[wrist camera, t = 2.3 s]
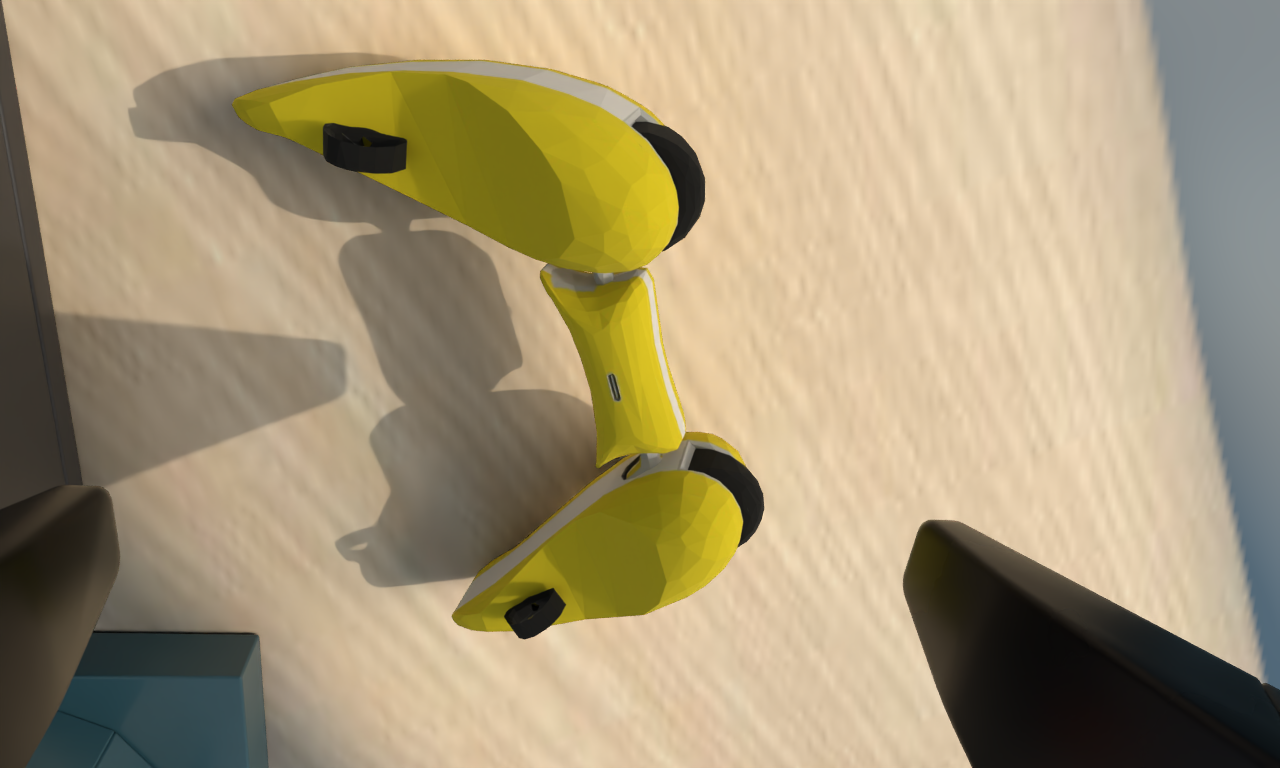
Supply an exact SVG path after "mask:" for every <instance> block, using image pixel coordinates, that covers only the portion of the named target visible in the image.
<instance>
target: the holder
mask: <svg viewBox="0 0 1280 768" xmlns="http://www.w3.org/2000/svg"><path fill="white" fill-rule="evenodd" d="M59 485H83V484H82V478H81V472H80V466H79V460H78V454H77V448H76V442H75V436H74V430H73V424H72V418H71V412H70V406H69V400H68V394H67V388H66V382H65V376H64V370H63V364H62V358H61V352H60V346H59V341H58V335H57V329H56V323H55V317H54V311H53V305H52V299H51V293H50V287H49V281H48V275H47V269H46V263H45V257H44V251H43V245H42V239H41V233H40V227H39V221H38V215H37V209H36V203H35V197H34V191H33V185H32V180H31V174H30V168H29V162H28V156H27V150H26V144H25V138H24V132H23V126H22V120H21V114H20V108H19V102H18V96H17V90H16V84H15V78H14V72H13V66H12V60H11V54H10V48H9V42H8V36H7V30H6V24H5V19H4V13H3V7H2V1H1V0H0V509H2V508H5V507H7V506H10V505H12V504H15V503H17V502H19V501H22V500H24V499H27V498H29V497H32V496H34V495H36V494H39V493H41V492H44V491H46V490H48V489H51V488H53V487H56V486H59Z"/></svg>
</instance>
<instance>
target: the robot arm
mask: <svg viewBox="0 0 1280 768" xmlns="http://www.w3.org/2000/svg"><path fill="white" fill-rule="evenodd" d="M119 565H120V549H119V542H118V536H117V529H116V522H115V516H114V509H113V503H112V499H111V496H110V494H109V492H108V491H107V490H106V489H104V488H103V487H100V486H84V485H59V486H56V487H53V488H51V489H48V490H46V491H44V492H41V493H39V494H36V495H34V496H32V497H29V498H27V499H24V500H22V501H19V502H17V503H15V504H12V505H10V506H7V507H5V508H2V509H0V768H25V767H26V766H27V764H28V762H29V761H30V759H31V757H32V755H33V754H34V752H35V750H36V748H37V747H38V745H39V743H40V742H41V740H42V738H43V736H44V735H45V733H46V731H47V729H48V727H49V726H50V724H51V722H52V720H53V718H54V716H55V715H56V713H57V711H58V709H59V707H60V705H61V703H62V701H63V698H64V696H65V694H66V692H67V690H68V688H69V686H70V683H71V681H72V679H73V676H74V674H75V672H76V669H77V667H78V665H79V663H80V660H81V658H82V656H83V653H84V651H85V649H86V646H87V644H88V642H89V640H90V637H91V635H92V633H93V630H94V628H95V626H96V623H97V621H98V619H99V617H100V614H101V612H102V610H103V607H104V605H105V603H106V600H107V598H108V596H109V594H110V591H111V589H112V587H113V584H114V582H115V580H116V577H117V574H118V570H119ZM903 590H904V595H905V598H906V601H907V604H908V607H909V610H910V613H911V615H912V618H913V621H914V624H915V627H916V630H917V633H918V635H919V638H920V641H921V644H922V647H923V650H924V653H925V655H926V658H927V661H928V664H929V667H930V670H931V673H932V675H933V678H934V681H935V684H936V687H937V689H938V692H939V695H940V697H941V700H942V702H943V705H944V707H945V710H946V712H947V714H948V717H949V719H950V721H951V723H952V726H953V728H954V730H955V732H956V734H957V736H958V738H959V741H960V743H961V745H962V747H963V749H964V751H965V753H966V755H967V758H968V760H969V762H970V764H971V766H972V768H1280V690H1279V689H1277V688H1275V687H1273V686H1271V685H1269V684H1267V683H1263V684H1261V683H1260V681H1259V680H1258V679H1257V678H1256V677H1254V676H1252V675H1250V674H1248V673H1246V672H1245V671H1243V670H1241V669H1239V668H1237V667H1235V666H1233V665H1231V664H1229V663H1227V662H1226V661H1224V660H1222V659H1220V658H1218V657H1216V656H1214V655H1212V654H1210V653H1208V652H1207V651H1205V650H1203V649H1201V648H1199V647H1197V646H1195V645H1193V644H1191V643H1189V642H1187V641H1186V640H1184V639H1182V638H1180V637H1178V636H1176V635H1174V634H1172V633H1170V632H1168V631H1167V630H1165V629H1163V628H1161V627H1159V626H1157V625H1155V624H1153V623H1151V622H1149V621H1148V620H1146V619H1144V618H1142V617H1140V616H1138V615H1136V614H1134V613H1132V612H1130V611H1129V610H1127V609H1125V608H1123V607H1121V606H1119V605H1117V604H1115V603H1113V602H1111V601H1110V600H1108V599H1106V598H1104V597H1102V596H1100V595H1098V594H1096V593H1094V592H1092V591H1091V590H1089V589H1087V588H1085V587H1083V586H1081V585H1079V584H1077V583H1075V582H1073V581H1072V580H1070V579H1068V578H1066V577H1064V576H1062V575H1060V574H1058V573H1056V572H1054V571H1053V570H1051V569H1049V568H1047V567H1045V566H1043V565H1041V564H1039V563H1037V562H1035V561H1034V560H1032V559H1030V558H1028V557H1026V556H1024V555H1022V554H1020V553H1018V552H1016V551H1015V550H1013V549H1011V548H1009V547H1007V546H1005V545H1003V544H1001V543H999V542H997V541H996V540H994V539H992V538H990V537H988V536H986V535H984V534H982V533H980V532H978V531H977V530H975V529H973V528H971V527H969V526H967V525H965V524H963V523H961V522H958V521H952V520H928V521H926V522H924V523H923V524H922V525H921V526H920V528H919V530H918V532H917V536H916V539H915V542H914V545H913V548H912V551H911V554H910V557H909V560H908V563H907V566H906V569H905V572H904V577H903Z"/></svg>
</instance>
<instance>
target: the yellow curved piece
mask: <svg viewBox="0 0 1280 768" xmlns="http://www.w3.org/2000/svg"><path fill="white" fill-rule="evenodd" d="M232 106H233V108H234V110H235V112H236V114H237V115H238V117H239V118H240V119H241V120H243V121H244V122H245V123H246V124H248V125H250V126H251V127H253V128H255V129H256V130H259V131H263V132H267V133H270V134H274V135H278V136H282V137H285V138H287V139H290V140H292V141H294V142H297V143H299V144H301V145H303V146H305V147H307V148H309V149H311V150H313V151H315V152H318V153H320V154H322V155H323V156H324V157H325V159H326V161H327V162H329V163H331V164H333V165H335V166H337V167H340V168H343V169H346V170H351V171H356V172H359V173H361V174H363V175H365V176H367V177H369V178H371V179H373V180H375V181H378V182H380V183H382V184H384V185H386V186H388V187H390V188H392V189H394V190H396V191H398V192H400V193H402V194H404V195H406V196H408V197H410V198H412V199H414V200H416V201H419V202H421V203H423V204H425V205H427V206H429V207H431V208H433V209H435V210H437V211H439V212H441V213H443V214H445V215H447V216H449V217H451V218H453V219H455V220H457V221H459V222H461V223H463V224H465V225H467V226H469V227H471V228H473V229H475V230H477V231H479V232H480V233H482V234H484V235H486V236H488V237H490V238H492V239H494V240H496V241H497V242H499V243H501V244H503V245H505V246H507V247H509V248H511V249H513V250H515V251H518V252H520V253H522V254H525V255H527V256H529V257H531V258H534V259H536V260H539V261H543V262H546V263H548V264H547V265H546V266H545V267H544V268H543V269H542V270H541V271H540V279H541V281H542V284H543V286H544V288H545V290H546V292H547V294H548V295H549V296H550V297H551V299H552V300H553V302H554V304H555V306H556V307H557V309H558V311H559V313H560V314H561V316H562V318H563V320H564V321H565V323H566V325H567V327H568V328H569V330H570V333H571V335H572V338H573V340H574V343H575V345H576V348H577V350H578V353H579V355H580V358H581V361H582V364H583V367H584V371H585V374H586V377H587V381H588V384H589V387H590V390H591V396H592V403H593V410H594V416H595V423H596V430H597V451H596V465H595V467H596V468H600V467H601V466H602V465H604V464H605V463H607V462H609V461H611V460H613V459H614V458H617V457H621V456H625V455H628V456H626V457H625V458H623V459H622V460H620V461H619V462H618V463H616V464H615V465H613V466H612V467H611V468H609V469H608V470H607V471H605V472H604V473H603V474H601V475H600V476H598V477H597V478H596V479H594V480H593V481H592V482H590V483H589V484H588V485H587V486H586V487H585V488H583V489H582V490H581V491H580V492H579V493H578V494H576V495H575V496H574V497H573V498H572V499H571V500H569V501H568V502H567V503H566V504H565V505H564V506H563V507H561V508H560V509H559V510H558V511H557V512H556V513H554V514H553V515H552V516H551V517H550V518H549V519H547V520H546V521H545V522H544V523H543V524H542V525H540V526H539V527H538V528H537V529H536V530H535V531H534V532H532V533H531V534H530V535H529V536H528V537H527V538H525V539H524V540H523V541H522V542H521V543H520V544H518V545H517V546H516V547H515V548H513V549H512V550H509V551H508V552H506V553H504V554H503V555H501V556H499V557H498V558H496V559H494V560H493V561H491V562H490V563H489V564H488V565H486V566H485V567H484V568H483V569H481V570H480V571H479V572H478V574H477V575H476V577H475V578H474V580H473V581H472V583H471V585H470V586H469V588H468V590H467V591H466V593H465V595H464V596H463V598H462V600H461V601H460V603H459V605H458V606H457V608H456V610H455V611H454V613H453V615H452V618H453V620H454V622H455V623H456V624H457V625H459V626H462V627H464V628H467V629H470V630H476V631H485V632H497V631H514V632H515V633H516V635H517V636H518V637H519V638H521V639H527V638H531V637H534V636H536V635H538V634H539V633H541V632H542V631H544V630H545V629H547V628H548V627H549V626H552V625H557V624H563V623H568V622H573V621H579V620H584V619H596V618H609V617H623V616H636V615H645V614H647V613H650V612H652V611H655V610H657V609H659V608H662V607H664V606H667V605H669V604H672V603H674V602H676V601H679V600H681V599H684V598H686V597H688V596H690V595H691V594H693V593H694V592H696V591H698V590H699V589H701V588H703V587H704V586H706V585H707V584H708V583H709V582H710V581H711V580H712V579H713V578H715V577H716V576H717V575H718V574H719V573H720V572H721V571H722V570H723V569H724V568H725V567H726V565H727V564H728V562H729V561H730V559H731V558H732V557H733V555H734V554H735V552H736V549H737V548H738V547H739V546H741V545H742V544H744V543H745V542H747V541H748V540H749V539H750V537H751V536H752V535H753V534H754V533H755V531H756V530H757V528H758V526H759V524H760V522H761V519H762V515H763V511H764V499H763V493H762V490H761V488H760V486H759V483H758V481H757V479H756V478H755V477H754V476H753V475H752V473H751V472H750V471H749V470H748V469H747V467H746V466H745V464H744V462H743V460H742V458H741V456H740V454H739V452H738V451H737V450H736V449H735V448H733V447H732V446H731V445H730V444H728V443H727V442H726V441H724V440H723V439H722V438H720V437H718V436H715V435H713V434H709V433H702V432H686V425H685V417H684V412H683V409H682V406H681V403H680V400H679V397H678V394H677V390H676V387H675V384H674V381H673V378H672V375H671V372H670V369H669V366H668V362H667V358H666V354H665V349H664V345H663V341H662V333H661V326H660V319H659V312H658V305H657V298H656V291H655V284H654V279H653V277H652V275H651V273H650V272H649V270H648V268H642V266H645V265H647V264H648V263H650V262H651V261H652V260H653V259H654V258H656V257H657V256H658V255H659V254H660V253H661V252H662V251H665V250H667V249H668V248H670V247H671V246H673V245H674V244H676V243H677V242H679V241H680V240H682V239H683V238H685V237H686V235H687V234H688V232H689V231H690V230H691V228H692V227H693V226H694V224H695V223H696V221H697V220H698V219H699V217H700V215H701V211H702V208H703V205H704V202H705V177H704V174H703V171H702V169H701V166H700V163H699V160H698V158H697V155H696V153H695V152H694V150H693V149H692V148H691V147H690V146H689V144H688V143H687V142H686V141H685V139H684V138H683V137H682V136H680V135H679V134H677V133H676V132H675V131H673V130H672V129H670V128H669V127H667V126H665V125H664V124H663V123H662V122H661V121H660V120H659V119H658V118H657V117H656V116H655V115H654V114H653V113H652V112H651V111H649V110H648V109H647V108H645V107H644V106H642V105H641V104H639V103H637V102H636V101H634V100H632V99H631V98H629V97H627V96H626V95H624V94H622V93H620V92H618V91H616V90H614V89H612V88H610V87H608V86H605V85H602V84H600V83H597V82H594V81H590V80H587V79H584V78H580V77H577V76H573V75H570V74H566V73H563V72H560V71H556V70H553V69H547V68H540V67H533V66H526V65H518V64H511V63H504V62H497V61H489V60H412V61H403V62H393V63H383V64H373V65H364V66H354V67H347V68H343V69H338V70H334V71H329V72H325V73H320V74H316V75H311V76H307V77H302V78H298V79H294V80H291V81H287V82H284V83H280V84H276V85H273V86H269V87H265V88H262V89H258V90H255V91H253V92H250V93H248V94H245V95H243V96H240V97H238V98H235V99H234V102H233V104H232ZM584 271H587V272H584ZM589 272H592V273H589ZM629 454H630V455H629Z"/></svg>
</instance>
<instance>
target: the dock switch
mask: <svg viewBox="0 0 1280 768" xmlns="http://www.w3.org/2000/svg"><path fill="white" fill-rule="evenodd" d="M25 768H268V754H267V740H266V726H265V712H264V698H263V684H262V670H261V655H260V641H259V636H258V635H239V634H152V633H92V635H91V637H90V640H89V642H88V644H87V646H86V649H85V651H84V653H83V656H82V658H81V660H80V663H79V665H78V667H77V669H76V672H75V674H74V676H73V679H72V681H71V683H70V686H69V688H68V690H67V692H66V694H65V696H64V698H63V701H62V703H61V705H60V707H59V709H58V711H57V713H56V715H55V716H54V718H53V720H52V722H51V724H50V726H49V727H48V729H47V731H46V733H45V735H44V736H43V738H42V740H41V742H40V743H39V745H38V747H37V748H36V750H35V752H34V754H33V755H32V757H31V759H30V761H29V762H28V764H27V766H26V767H25Z"/></svg>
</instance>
